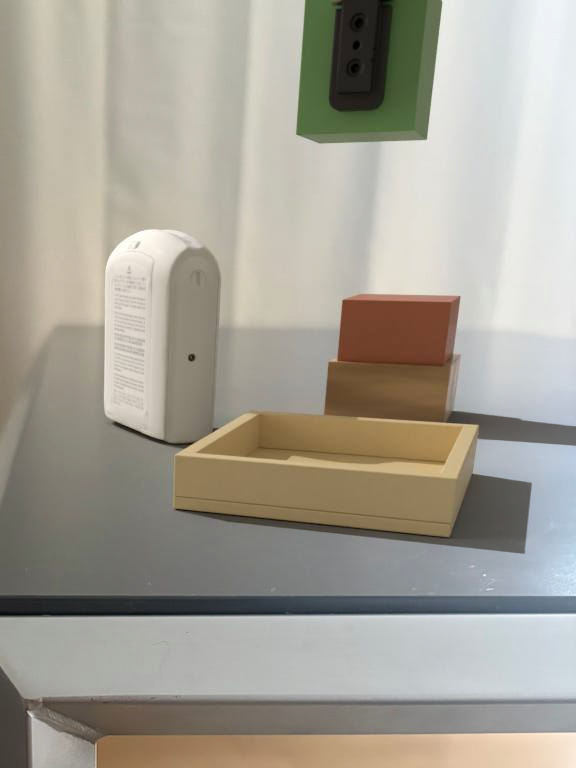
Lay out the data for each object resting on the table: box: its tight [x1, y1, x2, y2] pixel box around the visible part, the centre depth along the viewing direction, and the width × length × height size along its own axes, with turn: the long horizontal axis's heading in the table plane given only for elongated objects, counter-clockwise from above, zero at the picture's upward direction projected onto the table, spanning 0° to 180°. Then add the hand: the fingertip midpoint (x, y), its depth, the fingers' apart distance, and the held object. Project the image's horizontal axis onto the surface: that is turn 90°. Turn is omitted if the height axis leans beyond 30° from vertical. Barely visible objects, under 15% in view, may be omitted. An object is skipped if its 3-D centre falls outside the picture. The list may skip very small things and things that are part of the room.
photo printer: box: [103, 228, 222, 444], centre depth 64 cm, size 10×4×12 cm, turn 23°
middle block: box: [336, 293, 462, 366], centre depth 69 cm, size 7×7×4 cm
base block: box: [323, 353, 462, 423], centre depth 71 cm, size 8×8×4 cm
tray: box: [172, 409, 480, 538], centre depth 50 cm, size 14×13×3 cm
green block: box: [295, 0, 443, 145], centre depth 44 cm, size 5×5×6 cm
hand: (366, 115), depth 44 cm, fingers closed on green block, 5 cm apart
